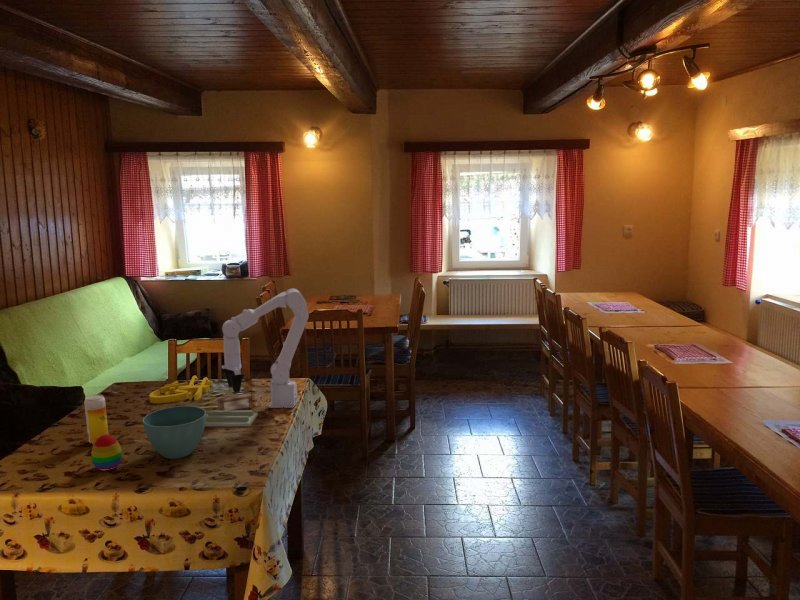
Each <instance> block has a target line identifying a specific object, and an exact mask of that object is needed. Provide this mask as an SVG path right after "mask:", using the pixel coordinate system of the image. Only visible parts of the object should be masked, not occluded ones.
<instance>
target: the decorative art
mask: <svg viewBox="0 0 800 600" xmlns="http://www.w3.org/2000/svg"><path fill="white" fill-rule="evenodd" d="M191 380H192V381H191ZM195 380H198V381H199V379H198V377H197V374H196V375H193V376H191V379H190V382H189V383H188V381H186V382H181V383H179V381H173V382H172V383H170V384H163V385H164V386H162V387H160V388H159V389H156V390H154V391H152V392H150V393H149V395H148V396H149V403H151V404H156V405H157V404H168V403H174V402H179V401H184V400H187V399H188V400H189V401H190V400H192V399H193V398H194V401H195V400H196V401H199V399H201V397H202V395H203V394H207V393H209V392H210V391H211V387H210V386H211V385H213V386H214V383H213V381H214V380H209V378H208V377H207V376H205V377H203V379H202V380H201V382H198V384H195V385H194V382H195ZM203 380H206V381H203ZM208 391H209V392H208ZM165 392H166V393H165ZM206 392H207V393H206ZM162 393H163V394H164V395H163V394H162ZM174 393H175V394H174ZM193 393H195V394H193ZM158 395H159V396H158Z"/></svg>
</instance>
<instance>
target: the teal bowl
mask: <svg viewBox="0 0 800 600" xmlns="http://www.w3.org/2000/svg"><path fill="white" fill-rule="evenodd" d="M206 415H207V414H206V410H205V409H204V408H203V407H199V406H195V405H194V406H193V405H179V406H178V405H177V406H171V407H170V406H169V407H165V408H160V409H158V410H155V411H152V412H150V413H148V414H146V416H144V417H143V418H142V424H143V429H144V432H145V434H146V437H147V439H148V441H149V442H150V444H151V446H152V447H153V449H155V450H156V452H157V453H159V454H160V455H161V456H162V457H164V458H166V459H171V460H173V459H174V460H176V459H181V458H182V459H183V458H184V457H187V456H189V455H191V454H192V453H193V452H194V450H195V449H196V447H197V446H198V445H199V442H200V441H201V439H202V436H203V434H204V431H205V427H206V426H205V421H206Z"/></svg>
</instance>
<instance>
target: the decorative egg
mask: <svg viewBox="0 0 800 600" xmlns="http://www.w3.org/2000/svg"><path fill="white" fill-rule="evenodd" d="M92 445H93V446H92V447H91V455H90V457H91V462H92V464H93V466H94V468H95V469H97V470H98V469H111V468H114V467H116V468H118V467H119V465H120V463H121V462H122V459H123V458H122V457H123V451H122V447H121V445H120V443H119V441H118V440H117V439H116V437H114V436H113V435H111V434H108V435H107V434H105V435H102V436H100V437H99V438H98V439H97V440H96V442H95V443H94V444H92ZM117 466H118V467H117Z"/></svg>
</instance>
